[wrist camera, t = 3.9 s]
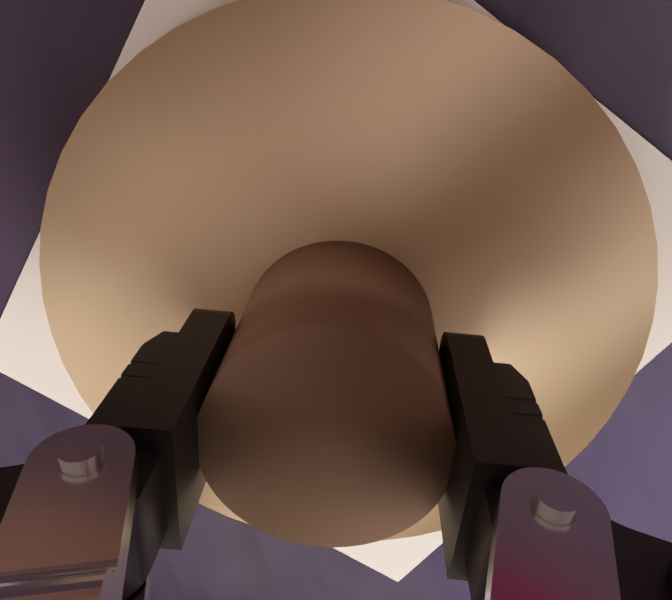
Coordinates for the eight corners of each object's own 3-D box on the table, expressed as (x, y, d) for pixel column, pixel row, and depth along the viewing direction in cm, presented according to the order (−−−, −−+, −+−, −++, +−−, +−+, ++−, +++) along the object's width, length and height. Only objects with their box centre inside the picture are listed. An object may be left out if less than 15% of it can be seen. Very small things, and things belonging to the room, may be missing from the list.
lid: (779, 249, 12) (1012, 382, 7) (397, 582, 17) (405, 774, 13) (235, -195, 9) (110, -386, 5) (-19, 361, 14) (-190, 508, 10)
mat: (763, 239, 12) (778, 248, 12) (397, 567, 17) (397, 582, 17) (240, -185, 10) (233, -196, 9) (-8, 351, 15) (-20, 361, 14)
